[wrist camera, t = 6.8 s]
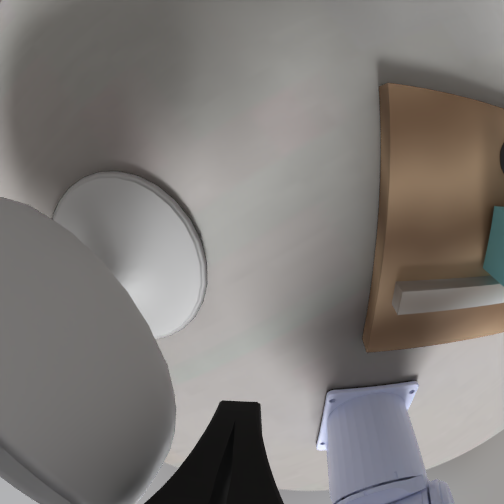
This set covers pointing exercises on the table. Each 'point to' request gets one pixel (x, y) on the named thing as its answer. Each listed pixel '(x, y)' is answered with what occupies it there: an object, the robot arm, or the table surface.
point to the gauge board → (435, 220)
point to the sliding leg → (496, 247)
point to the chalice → (92, 337)
